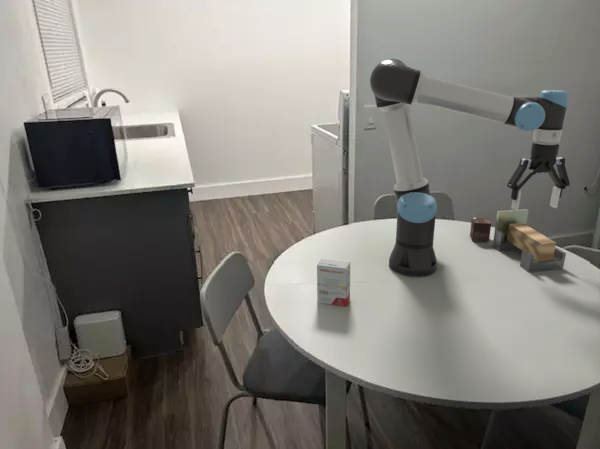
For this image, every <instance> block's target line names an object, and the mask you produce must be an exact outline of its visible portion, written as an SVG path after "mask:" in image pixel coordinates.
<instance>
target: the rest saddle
mask: <svg viewBox="0 0 600 449" xmlns="http://www.w3.org/2000/svg"><path fill="white" fill-rule="evenodd" d="M566 256H567V253H566V252H565V251H563V250H562V249H560V248H558V247H555V252H554V257H553V260H550V261H537V260H535V259H534V256H533V255H532V254H530V253H529V252H527V251H526V250H521V257H520V262H519V267H520V268H522V269H524V270H525V271H526V272H527V273H532V272H543V271H544V272H545V271H555V270H554V269H557V270H563V269H564V265H565V262H566V261H565V260H566ZM562 268H563V269H562Z"/></svg>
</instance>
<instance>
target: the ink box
mask: <svg viewBox="0 0 600 449" xmlns="http://www.w3.org/2000/svg"><path fill="white" fill-rule="evenodd" d="M316 281H317V282H316V287H317V288H316V292H317V295H316V297H317V298H316V300H317V303H318V304H324V305H325V304H326V305H333V306H340V307H348V304H349V302H350V300H351V262H350V261H345V260H344V261H343V260H336V259H335V260H333V259H327V258H321V260H320V261H318V264H317V265H316Z"/></svg>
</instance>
